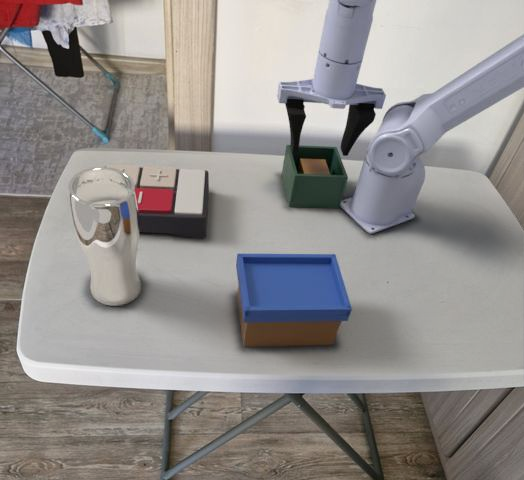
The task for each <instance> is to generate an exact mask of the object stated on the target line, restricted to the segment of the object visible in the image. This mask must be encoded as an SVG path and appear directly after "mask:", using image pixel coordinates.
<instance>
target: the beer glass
mask: <svg viewBox="0 0 524 480" xmlns="http://www.w3.org/2000/svg"><path fill="white" fill-rule="evenodd" d="M68 192H69V202H70V213H71V218H72V223H73V227H74V232H75V235H76V238H77V240H78V243H79V246H80V248H81V250H82V253H83V255H84V257H85V259H86V261H87V263H88V264H87V265H88V266H89V269H90V288H89V289H90V292H91V295H92V297H93V298H94V299H95V300H96V301H97V302H99V303H100V304H103V305H106V306H110V307H118V306H124V305H127V304H130V303H131V302H133V301H135V299H137V298H138V297H139V296H140V294H141V289H142V282H141V280H140V279H141V278H140V277H139V274H138V271H137V255H138V249H139V241H140V233H141V232H140V219H139V209H138V203H137V197H136V192H135V184H134V181H133V179H132V178H131V177H130V176H129V175H128V174H126V173H125V172H123V171H121V170H118V169H114V168H108V167H105V166H98V167H90V168H86V169H84V170H81V171H79V172H78V173H75V174H74V175H73V176H72V178H71V179H70V180H69V183H68Z"/></svg>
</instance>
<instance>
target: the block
mask: <svg viewBox="0 0 524 480" xmlns="http://www.w3.org/2000/svg"><path fill="white" fill-rule="evenodd" d="M297 173H298V174H318V175H330V172H329V169H328V166H327V163H326V160H325V159H301V158H300V162H299V167H298V172H297Z"/></svg>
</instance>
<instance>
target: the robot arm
mask: <svg viewBox="0 0 524 480" xmlns="http://www.w3.org/2000/svg"><path fill="white" fill-rule="evenodd" d="M376 4H377V0H328V4H327V8H326V11H325V14H324V15H325V16H324V21H323V26H322V32H321V37H320V42H319V47H318V52H317V58H316V63H315V68H314V73H313V78H311V79H303V80H302V79H301V80H294V81H279V82H278V87H277V94H276V98H277V101H278V103H279V104H284V105H285V109H286V113H287V114H286V115H287V118H288V125H289V133H290V143H289V145H290V147H291V151H292V153H293V154H297V152H298V149H299V145H300V143H301V141H300V140H301V134H302V131H303V128H304V124H305V120H306V118H307V114H306V111H305V108H306V107H305V106H306V105H305V103H311V104H313V103H315V104H325V105H329V107H330V108H332V109H338V110H344V109H346V107H347V106H348V113H347V119H346V122H345V123H346V124H345V128H344V131H343V134H342V138H341V142H340V148H339V149H340V151H341V153H342V156H343V157H348V155H350V152H351V150H352V148H353V146H354V145H355V144H356V141H357V140H358V139H359V137H360V136H361V135H362V134H363V132H364V131H365V130H366V129H367V128H368V127H369V126H370V125H371V124H373V122H374V121H375V118H376V115H377V113H376V111H375V110H376V109H377V110H382V109H383V106H384V104H385V100H386V97H387V94H386V93H385V91H384V89H383V87H381V88H380V87H373V86H369V85H364V84H360V83H357V82H358V79H359V75H360V71H361V67H362V63H363V59H364V56H365V51H366V48H367V44H368V41H369V36H370V32H371V28H372V24H373V21H374V11H375V7H376ZM523 88H524V33H523V34H522V35H519V36H518V37H517V38H515V39H514V40H512V41H511V42H509V43H508V44H506V45H505V46H502V48H500V49H499V50H497V51H495V52H494V53H492V54H490V55H489V56H488V57H486V58H484V59H483V60H482V61H480V62H478V63H477V64H476V65H474V66H472V67H471V68H469V69H467V70H466V71H465V72H463V73H461V74H460V75H458V76H457V77H455V78H454V79H452V80H451V81H449V82H448V83H446V84H445V85H443V86H441V87H440V88H439V89H437V90H435V91H433V92H432V93H431V92H430V93H424V94H421V95H419V96H418V97H417V98H415V99H413V100H409V101H401V102H397V103H395V104H394V105H392V106H390V107H389V108H388V110H387V111H386V112H385V114H384V115H383V118H382V121H381V124H380V126H379V127H378V129H377V131H376V133H375V135H374V136H373V137H372V138H371V140H370V142H369V144H368V147H367V150H366V153H365V156H364V160H363V162H362V166H361V169H360V172H359V175H358V179H357V182H356V186H355V189H354V192H353V196H352V197H349V198H345V199H342V200H341V204H340V207H339V208H341V209H342V210H343V211H344V212H345V213H346V214H347V215H349V217H350V218H352V220H354V222H356V223H357V224H358V225H359V226H360V227H361V228H362V229H363V230H364V231H365V232H366V233H368V234H369V235H373V234H376V233H377V232H381V231H384V230H386V229H389V228H392V227H394V226H397V225H399V224H402V223H405V222H409V221H411V220H413V219H415V217H416V215H415V214H414V212H413V209H414V207H415V205H416V202H417V199H418V197H419V195H420V193H421V190H422V188H423V186H424V183H425V180H426V168H425V165H424V162H423V160H422V159H421V158H420V156H422V155H424V154H426V153H427V152H428V151H430V150H431V149H432V148H433V146H435V144H436V143H437V142H438V141H439V140H440V139H441V138H442V137H443V136H444V135H445V134H447V133H448V132H449V131H451V130H453V129H454V128H456V127H458V126H460V125H461V124H463V123H466V122H467V121H468V120H470V119H471V118H473V117H475V116H476V115H479V114H480V113H482V112H483V111H485V110H487V109H489V108H491V107H492V106H494V105H495V104H497V103H500V102H501V101H503V100H504V99H506V98H509V96H511V95H513V94H515V93H517V92H518V91H520V90H521V89H523Z"/></svg>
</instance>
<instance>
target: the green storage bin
mask: <svg viewBox="0 0 524 480" xmlns="http://www.w3.org/2000/svg"><path fill="white" fill-rule="evenodd" d="M284 152H285V153H284V158H283V163H282V170H281V176H280V177H281V181H282V185H283V188H284V193H285V196H286V201H287V205H288V207H289V208H318V209H321V208H322V209H340V208H341V207H340V204H341V201H342V200H343V196H344V193H345V189H346V186H347V182H348V179H349V176H348V174H347V171H346V168H345V166H344V163H343V160H342V157H341V155H340V153H339V150H338V147H337V146H322V145H301V144H299V149H298V152H297V154H293V153H292V151H291V147H290V144H286V146H285V151H284ZM300 158H301V159H325V160H326V163H327V166H328V169H329V172H330V175H318V174H298V173H297V172H298V167H299V162H300Z"/></svg>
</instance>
